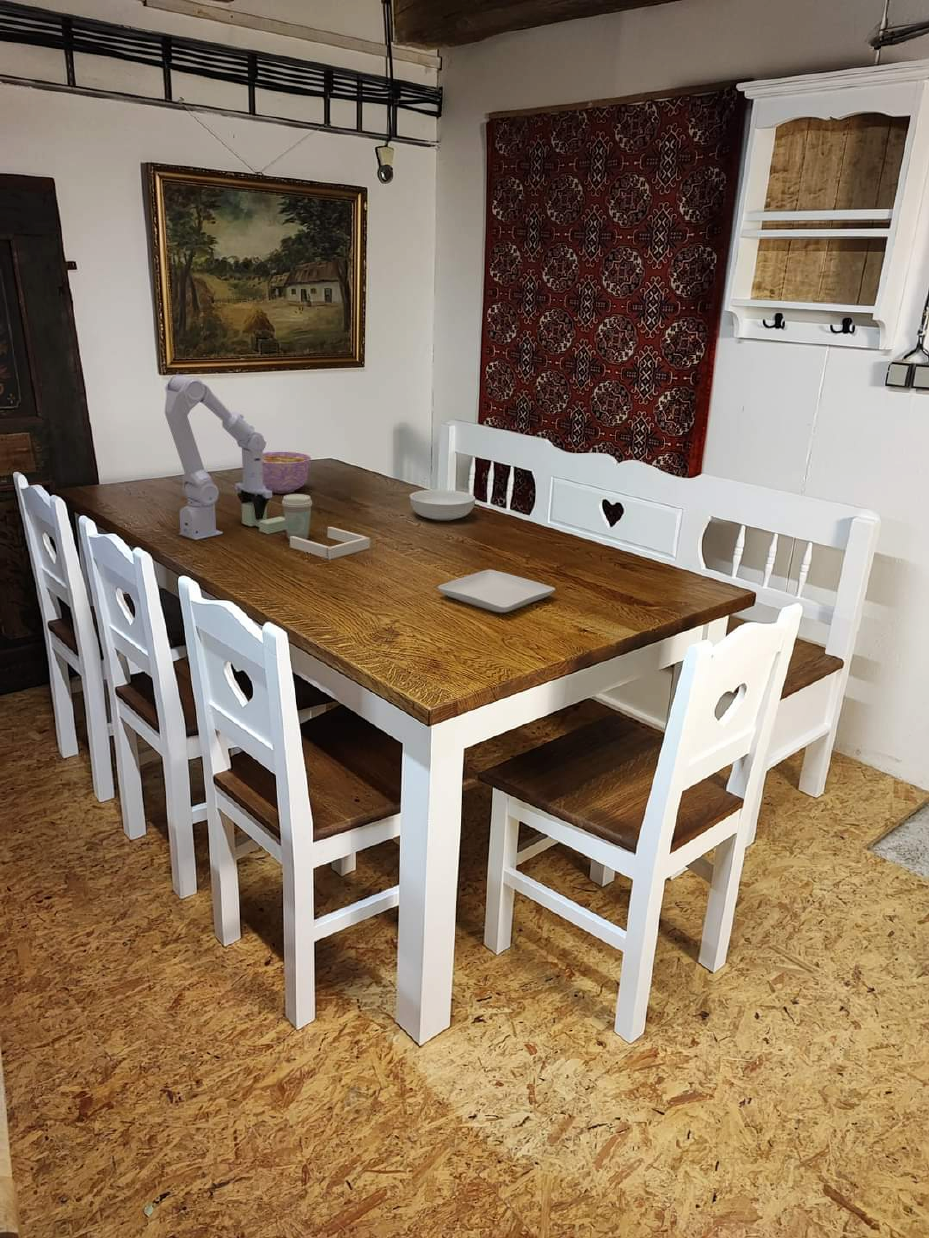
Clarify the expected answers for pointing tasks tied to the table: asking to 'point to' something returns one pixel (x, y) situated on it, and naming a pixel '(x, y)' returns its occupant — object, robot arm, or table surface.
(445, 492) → the serving bowl
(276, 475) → the bowl of food
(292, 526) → the coffee cup
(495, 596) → the salad plate
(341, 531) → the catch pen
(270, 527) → the square dumbbell
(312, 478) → the table surface
